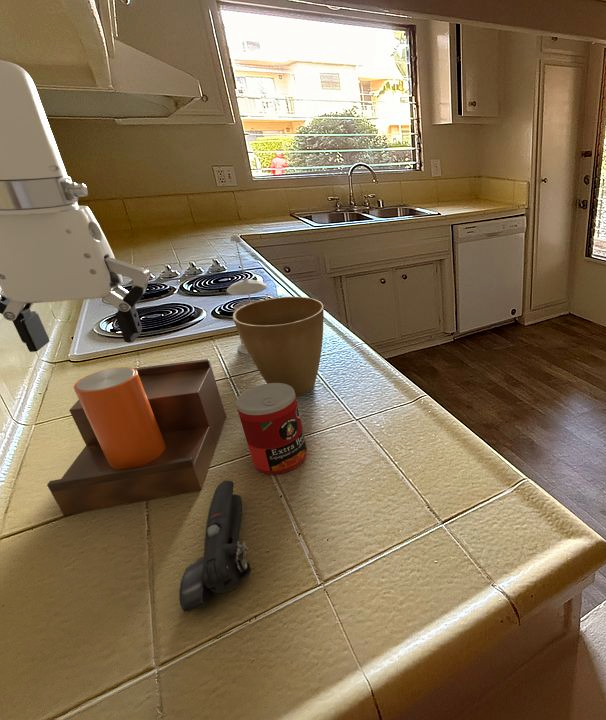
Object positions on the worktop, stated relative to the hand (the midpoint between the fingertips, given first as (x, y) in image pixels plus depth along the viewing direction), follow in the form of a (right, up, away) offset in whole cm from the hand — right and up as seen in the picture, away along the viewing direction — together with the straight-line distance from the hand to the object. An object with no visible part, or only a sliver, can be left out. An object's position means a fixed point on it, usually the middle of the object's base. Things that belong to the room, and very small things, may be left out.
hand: (87, 342), depth 57 cm
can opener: (+18, -25, -2) cm, 31 cm away
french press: (-2, +1, +50) cm, 50 cm away
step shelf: (-1, -17, +13) cm, 22 cm away
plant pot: (+13, -8, +32) cm, 35 cm away
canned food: (+18, -17, +13) cm, 28 cm away
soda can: (0, -15, +8) cm, 17 cm away
